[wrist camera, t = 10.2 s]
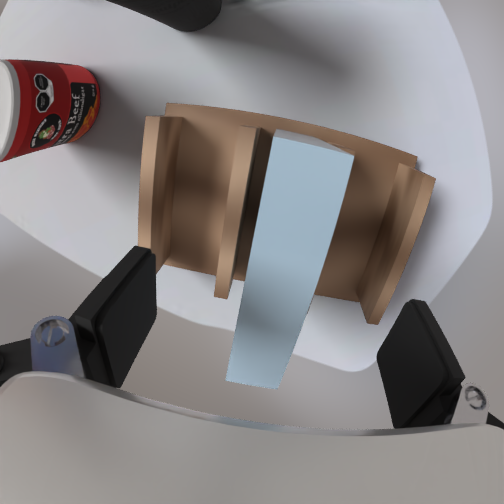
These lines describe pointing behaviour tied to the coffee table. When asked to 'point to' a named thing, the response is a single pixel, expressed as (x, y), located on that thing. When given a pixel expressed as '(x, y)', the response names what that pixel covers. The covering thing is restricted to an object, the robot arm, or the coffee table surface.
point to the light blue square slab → (286, 253)
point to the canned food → (44, 105)
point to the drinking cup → (176, 11)
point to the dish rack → (249, 197)
